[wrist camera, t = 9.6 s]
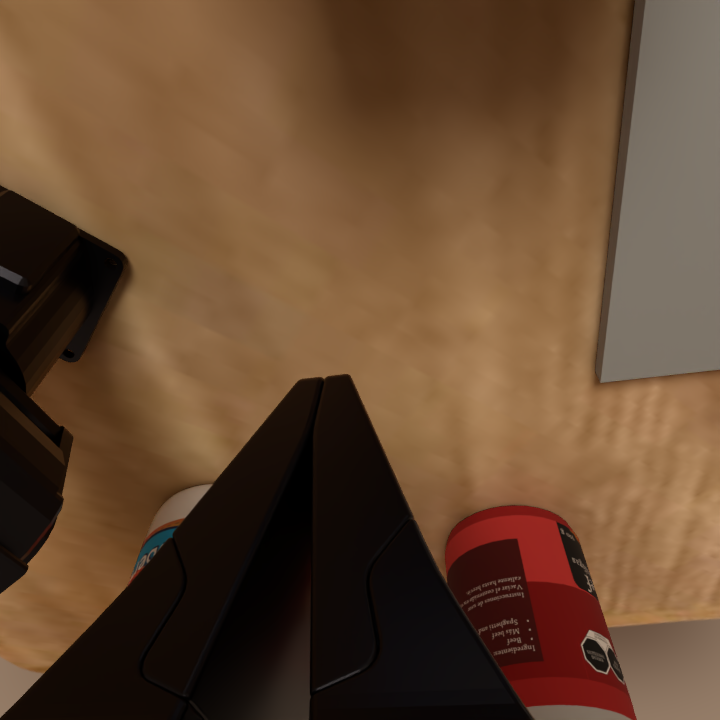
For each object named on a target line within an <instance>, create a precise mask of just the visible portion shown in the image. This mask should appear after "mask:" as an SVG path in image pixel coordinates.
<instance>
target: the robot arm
mask: <svg viewBox="0 0 720 720" xmlns="http://www.w3.org/2000/svg"><path fill="white" fill-rule="evenodd" d="M108 258H110V259H113V260H114V261H115V262H116V263H117V265H114V264H111V263H110V262H109V260H108ZM126 265H127V260H126V257H125V255H124V254H123V253H122V252H121V251H119V250H118V249H116V248H114V247H112V246H110V245H109V244H107V243H105V242H103V241H101V240H99V239H98V238H96V237H94V236H92V235H90V234H88V233H87V232H85V231H83V230H81V229H79V228H77V227H76V226H75V225H74V224H72V223H70V222H68V221H66V220H64V219H63V218H61V217H59V216H57V215H55V214H54V213H52V212H50V211H48V210H46V209H44V208H43V207H41V206H39V205H37V204H35V203H33V202H32V201H30V200H28V199H26V198H24V197H22V196H21V195H19V194H17V193H15V192H13V191H11V190H8V189H6V188H4V187H2V186H1V185H0V594H1V593H2V592H3V591H4V590H6V589H7V588H8V587H9V586H11V585H12V584H13V583H15V582H16V581H17V580H18V579H20V578H21V577H22V576H23V575H24V574H25V573H26V572H27V570H28V565H27V564H28V562H29V561H30V560H31V559H32V558H33V557H34V556H35V555H36V554H37V552H38V551H39V550H40V548H41V547H42V546H43V544H44V543H45V541H46V540H47V539H48V537H49V535H50V533H51V531H52V529H53V527H54V525H55V522H56V519H57V516H58V514H59V512H60V511H61V509H62V505H63V500H64V498H63V496H62V492H63V487H64V482H65V477H66V472H67V467H68V462H69V457H70V452H71V447H72V442H73V436H72V435H71V434H70V433H69V432H68V431H67V430H66V429H65V428H64V427H63V426H60V427H59V426H58V425H57V424H56V423H55V422H54V421H53V420H52V419H51V418H50V417H49V416H48V415H47V414H46V413H45V412H44V411H43V410H42V409H41V408H40V407H39V406H38V405H37V404H36V403H35V402H34V401H33V400H32V399H31V398H30V397H31V395H32V394H33V393H34V391H35V390H36V388H37V387H38V386H39V384H40V383H41V382H42V380H43V379H44V377H45V376H46V375H47V373H48V372H49V370H50V369H51V368H52V366H53V365H54V364H55V362H56V361H57V359H58V358H60V359H63V360H65V361H68V362H76V361H78V360H79V359H80V357H81V356H82V355H83V353H84V351H85V349H86V347H87V345H88V343H89V341H90V339H91V337H92V335H93V333H94V331H95V329H96V326H97V324H98V322H99V320H100V318H101V316H102V314H103V312H104V310H105V308H106V306H107V304H108V302H109V300H110V298H111V296H112V294H113V292H114V290H115V288H116V286H117V284H118V282H119V280H120V278H121V276H122V274H123V272H124V269H125V267H126ZM68 349H69V350H71V351H73V352H70V351H69V350H68ZM172 537H173V538H168V539H167V540H166V541H165V543H164V544H163V545H162V546H161V548H160V549H159V550H158V551H157V552H156V554H155V555H154V556H153V557H152V558H151V560H150V561H149V562H148V563H147V564H146V565H145V567H144V568H143V569H142V570H141V571H140V572H139V574H138V575H137V576H136V577H135V578H134V579H133V580H132V582H131V583H130V584H129V585H128V586H127V587H126V589H125V590H124V591H123V592H122V593H121V594H120V595H119V596H118V597H117V598H116V599H115V600H114V601H113V603H112V604H111V605H110V606H109V607H108V608H107V609H106V610H105V611H104V612H103V613H102V614H101V615H100V616H99V617H98V619H97V620H96V621H95V622H94V623H93V624H92V625H91V626H90V627H89V628H88V629H87V630H86V631H85V632H84V633H83V634H82V635H81V636H80V637H79V638H78V639H77V640H76V641H75V642H74V643H73V644H72V645H71V646H70V647H69V649H68V650H67V651H66V652H65V653H64V654H63V655H62V656H61V657H60V658H59V659H58V660H57V661H56V662H55V663H54V664H53V665H52V666H51V667H50V668H49V669H48V670H47V671H46V672H45V673H44V674H43V675H42V676H41V677H40V678H39V679H38V680H37V681H36V682H35V683H34V684H33V686H32V687H31V688H30V689H29V690H28V691H27V692H26V693H25V694H24V695H23V696H22V697H21V698H20V699H19V700H18V701H17V702H16V703H15V704H14V705H13V706H12V707H11V708H10V709H9V710H8V711H7V712H6V713H5V714H4V715H3V716H2V717H1V718H0V720H535V719H534V718H533V716H532V715H531V713H530V712H529V710H528V709H527V708H526V706H525V705H524V703H523V702H522V700H521V699H520V697H519V696H518V694H517V693H516V692H515V690H514V689H513V687H512V685H511V684H510V682H509V681H508V679H507V678H506V676H505V675H504V673H503V671H502V670H501V668H500V667H499V665H498V664H497V662H496V661H495V659H494V657H493V656H492V654H491V653H490V651H489V650H488V648H487V647H486V645H485V643H484V642H483V640H482V639H481V637H480V636H479V634H478V633H477V631H476V629H475V628H474V626H473V625H472V623H471V622H470V620H469V618H468V617H467V615H466V614H465V612H464V611H463V609H462V608H461V606H460V604H459V603H458V601H457V599H456V598H455V596H454V594H453V593H452V591H451V589H450V588H449V586H448V584H447V583H446V581H445V579H444V577H443V576H442V574H441V572H440V571H439V569H438V567H437V565H436V563H435V561H434V559H433V557H432V555H431V553H430V551H429V549H428V547H427V544H426V542H425V540H424V538H423V536H422V534H421V531H420V529H419V527H418V525H417V522H416V521H415V520H414V517H413V514H412V512H411V510H410V507H409V505H408V503H407V501H406V498H405V496H404V494H403V492H402V490H401V487H400V485H399V483H398V481H397V478H396V476H395V474H394V472H393V469H392V467H391V465H390V463H389V461H388V458H387V456H386V454H385V452H384V449H383V447H382V445H381V443H380V440H379V438H378V436H377V434H376V432H375V429H374V427H373V425H372V423H371V420H370V418H369V416H368V414H367V411H366V409H365V407H364V405H363V403H362V400H361V398H360V396H359V394H358V391H357V389H356V387H355V385H354V382H353V380H352V378H351V376H350V375H348V374H342V375H333V376H328V377H326V378H325V379H324V378H322V377H315V378H307V379H301V380H299V381H298V382H297V383H296V384H295V385H294V386H293V387H292V389H291V390H290V391H289V392H288V393H287V395H286V396H285V397H284V398H283V400H282V401H281V402H280V403H279V404H278V406H277V407H276V408H275V409H274V410H273V412H272V413H271V414H270V415H269V417H268V418H267V419H266V420H265V421H264V423H263V424H262V425H261V426H260V427H259V429H258V430H257V431H256V432H255V434H254V435H253V436H252V437H251V438H250V440H249V441H248V442H247V443H246V444H245V446H244V447H243V448H242V449H241V451H240V452H239V453H238V454H237V455H236V457H235V458H234V459H233V460H232V461H231V463H230V464H229V465H228V466H227V468H226V469H225V470H224V471H223V472H222V474H221V475H220V476H219V477H218V479H217V480H216V481H215V482H214V483H213V485H212V486H211V487H210V488H209V489H208V491H207V492H206V493H205V494H204V496H203V497H202V498H201V499H200V500H199V502H198V503H197V504H196V505H195V506H194V508H193V509H192V510H191V511H190V513H189V514H188V515H187V516H186V517H185V519H184V520H183V521H182V522H181V523H180V525H179V526H178V527H177V528H176V530H175V531H174V532H173V533H172Z"/></svg>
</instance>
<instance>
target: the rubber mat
mask: <svg viewBox="0 0 720 720" xmlns="http://www.w3.org/2000/svg"><path fill="white" fill-rule="evenodd" d="M711 370H720V0H635V6H634V16H633V25H632V34H631V43H630V53H629V62H628V71H627V80H626V90H625V99H624V108H623V117H622V127H621V136H620V145H619V154H618V164H617V173H616V182H615V191H614V201H613V210H612V219H611V228H610V238H609V247H608V256H607V265H606V275H605V284H604V293H603V302H602V312H601V321H600V330H599V339H598V349H597V358H596V367H595V372H596V374H597V376H598V378H599V381H600V383H603V382H612V381H621V380H630V379H639V378H648V377H657V376H666V375H675V374H684V373H693V372H702V371H711Z"/></svg>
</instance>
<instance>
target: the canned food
mask: <svg viewBox="0 0 720 720" xmlns="http://www.w3.org/2000/svg"><path fill="white" fill-rule="evenodd" d="M445 562H446V572H447V582H448V586H449V588H450V589H451V591H452V593H453V594H454V596H455V598H456V599H457V601H458V603H459V604H460V606H461V608H462V609H463V611H464V612H465V614H466V615H467V617H468V618H469V620H470V622H471V623H472V625H473V626H474V628H475V629H476V631H477V633H478V634H479V636H480V637H481V639H482V640H483V642H484V643H485V645H486V647H487V648H488V650H489V651H490V653H491V654H492V656H493V657H494V659H495V661H496V662H497V664H498V665H499V667H500V668H501V670H502V671H503V673H504V675H505V676H506V678H507V679H508V681H509V682H510V684H511V685H512V687H513V689H514V690H515V692H516V693H517V694H518V696H519V697H520V699H521V700H522V702H523V703H524V705H525V706H526V708H527V709H528V710H529V712H530V713H531V715H532V716H533V718H534V719H535V720H637V719H636V716H635V713H634V709H633V705H632V702H631V699H630V696H629V693H628V690H627V686H626V683H625V681H624V677H623V675H622V671H621V668H620V665H619V662H618V659H617V656H616V653H615V650H614V647H613V643H612V640H611V637H610V634H609V631H608V628H607V625H606V622H605V619H604V616H603V613H602V610H601V607H600V604H599V600H598V597H597V594H596V591H595V588H594V585H593V582H592V579H591V576H590V573H589V570H588V567H587V564H586V561H585V557H584V554H583V551H582V548H581V545H580V542H579V539H578V537H577V536H576V535H575V533H574V532H573V530H572V529H571V528H570V526H569V525H568V524H567V522H566V521H565V520H563V519H562V518H561V517H559V516H558V515H556V514H554V513H552V512H550V511H547V510H543V509H540V508H536V507H529V506H515V505H512V506H500V507H495V508H490V509H486V510H483V511H480V512H477V513H475V514H473V515H471V516H469V517H467V518H465V519H464V520H463V521H461V522H460V523H458V524H457V525H456V527H455V528H454V529H453V530H452V531H451V533H450V535H449V537H448V542H447V546H446V551H445Z"/></svg>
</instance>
